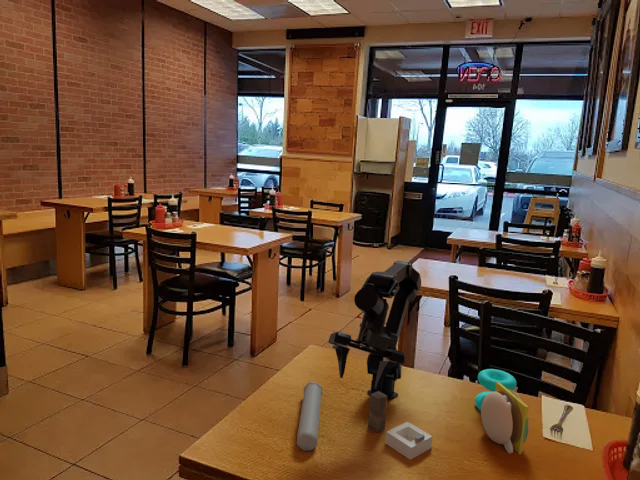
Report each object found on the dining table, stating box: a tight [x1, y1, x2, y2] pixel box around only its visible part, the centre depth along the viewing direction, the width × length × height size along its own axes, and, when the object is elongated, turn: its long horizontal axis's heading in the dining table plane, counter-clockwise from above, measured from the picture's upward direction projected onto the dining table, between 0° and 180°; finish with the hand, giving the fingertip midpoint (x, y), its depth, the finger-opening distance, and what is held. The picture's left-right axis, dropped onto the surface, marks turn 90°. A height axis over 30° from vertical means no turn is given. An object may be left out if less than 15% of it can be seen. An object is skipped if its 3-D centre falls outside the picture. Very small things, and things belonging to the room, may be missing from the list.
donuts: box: [474, 368, 517, 411], centre depth 131 cm, size 10×10×10 cm
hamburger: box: [480, 382, 530, 455], centre depth 116 cm, size 12×8×12 cm
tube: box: [296, 381, 323, 452], centre depth 120 cm, size 5×5×25 cm
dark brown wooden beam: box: [367, 391, 388, 434], centre depth 118 cm, size 3×3×9 cm
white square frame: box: [385, 421, 433, 461], centre depth 112 cm, size 8×8×4 cm
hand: (358, 383), depth 115 cm, fingers open, 9 cm apart
